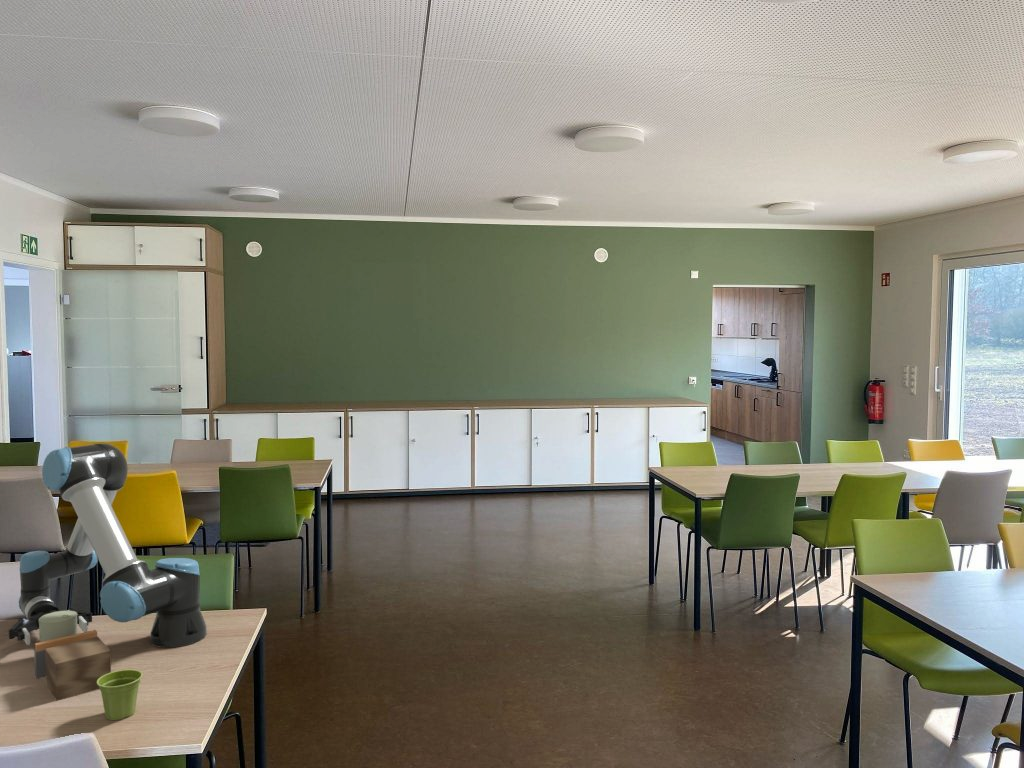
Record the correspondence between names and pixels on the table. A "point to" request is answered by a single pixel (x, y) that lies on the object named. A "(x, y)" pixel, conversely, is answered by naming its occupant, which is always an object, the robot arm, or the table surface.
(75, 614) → the can
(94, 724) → the table surface
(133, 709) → the plant pot
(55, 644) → the terracotta bar
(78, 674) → the walnut stand
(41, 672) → the hurdle posts
